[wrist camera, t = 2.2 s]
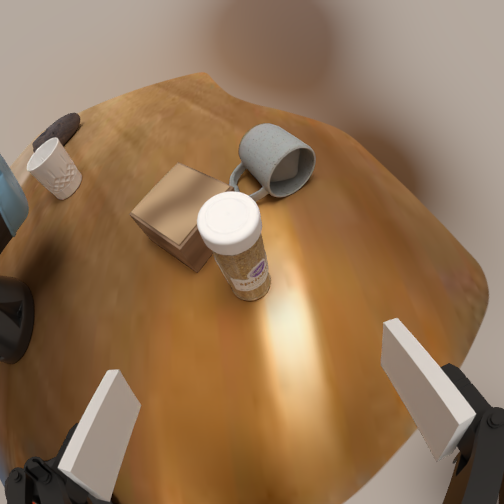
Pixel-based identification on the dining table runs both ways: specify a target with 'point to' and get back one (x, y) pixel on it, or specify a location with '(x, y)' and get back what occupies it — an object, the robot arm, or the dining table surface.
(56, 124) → the perforated stone tool
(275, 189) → the ceramic mug
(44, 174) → the white cup
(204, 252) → the tan block
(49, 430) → the dining table surface
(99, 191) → the dining table surface
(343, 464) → the dining table surface
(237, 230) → the sprinkles bottle
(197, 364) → the dining table surface
